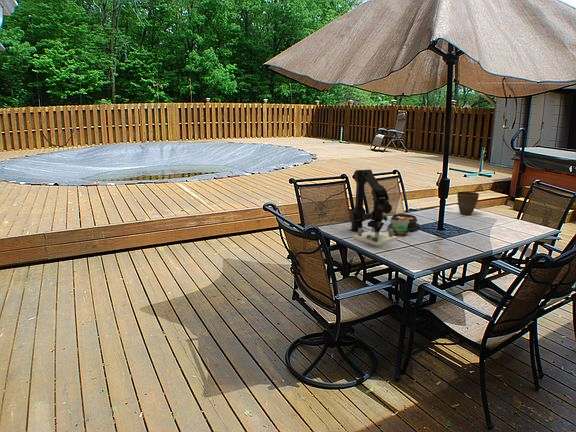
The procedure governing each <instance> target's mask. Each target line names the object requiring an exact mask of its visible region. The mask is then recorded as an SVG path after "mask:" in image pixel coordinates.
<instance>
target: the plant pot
mask: <svg viewBox="0 0 576 432" xmlns="http://www.w3.org/2000/svg"><path fill="white" fill-rule="evenodd" d="M456 193H457V194H456V195H457V197H456V198H457V205H458V206H457V207H458V211H459V213H460V215H462V216H468V217H469V216H472V214H473V213H474V210H475V208H476V206H477V204H478V200H479V196H480V194H479V192H473V191H458V192H456Z"/></svg>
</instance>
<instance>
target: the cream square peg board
mask: <svg viewBox="0 0 576 432" xmlns="http://www.w3.org/2000/svg"><path fill="white" fill-rule="evenodd" d="M362 229H363V227H362V228H358V232H357V234H354V235H353V237H352V239H354V240H356V239H357V241H360V242H363V243H367V244H369V243H370V244H371V245H373V246H377V247H378V246H382V245H384V244H388V243H391V242H394V241H397V240H398V236H394V235H393V229H389V228H388V233H386V232H385V233H384V232H382V231H380V232H379V239H377V238H372V239H368V238H367V235H371V237H375V229H374V227H371V230H368V231H365V232H363V231H362Z"/></svg>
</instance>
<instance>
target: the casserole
mask: <svg viewBox="0 0 576 432" xmlns="http://www.w3.org/2000/svg"><path fill="white" fill-rule="evenodd" d="M407 218H408V219H409V223H408V227H407V232H408V231H413V230H417V229H419V227H420V226H421V224H420V223H417V222H418V219H417V216H415V215H413V214H408V213H397V214H392V216H391V218H390V220H391V219H392V220H399V219H401V220H406V219H407ZM387 229H388V230H389V229H391V223H389V224H388V225H387Z"/></svg>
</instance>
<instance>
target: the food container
mask: <svg viewBox="0 0 576 432" xmlns="http://www.w3.org/2000/svg"><path fill="white" fill-rule="evenodd" d="M390 223H391V229H393V236H397V237H406V236H407V232H408V231H407V227H408V223H409V219H408V218H407V219H406V220H401V219H399V220H392V219H391V218H390ZM390 223H389V224H390Z"/></svg>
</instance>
